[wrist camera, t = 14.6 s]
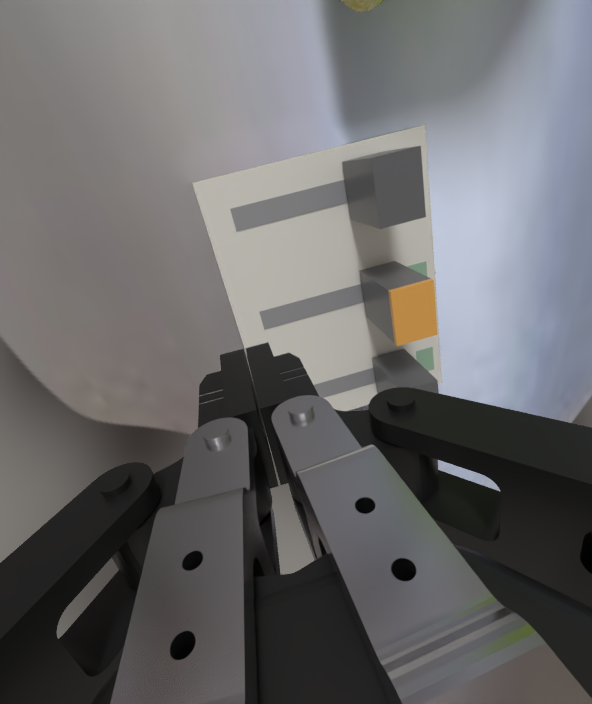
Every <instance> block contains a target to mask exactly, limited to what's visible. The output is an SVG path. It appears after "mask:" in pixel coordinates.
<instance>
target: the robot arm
mask: <svg viewBox="0 0 592 704" xmlns="http://www.w3.org/2000/svg"><path fill="white" fill-rule="evenodd" d="M245 349H246V353H247V357H248V362H249V366H250V370H251V374H252V377H251V374H250V370H249V366H248V363H247V359H246V356H245V352H244V349H241V350H237V351H233V352H229V353H226V354H222V355H220V361H221V371H219V372H215V373H212V374H208V375H206V377H205V378H204V379H203V381H202V382H201V384H200V388H199V395H200V397H199V419H198V429H197V430H195V431H194V432H193V433H192V434H191V436H190V437H189V439H188V440H187V443H186V448H185V453H184V457H183V458H182V459H180V460H179V461H177V462H175V463H174V464H172V465H170V466H168V467H167V468H164V469H162V470H160V471H158V472H156V473H155V474H153V472H152V470H151V468H150V467H149V466H148V465H146V464H144V463H139V462H137V463H136V462H134V463H127V464H124V465H121V466H118V467H115V468H113V469H111V470H109V471H107V472H106V473H104V474H103V475H101V476H100V477H98V478H97V479H96V480H95V481H94V482H92V483H91V484H90V485H89V486H88V487H87V488H86V489H84V490H83V491H82V492H81V493H80V494H79V495H78V496H76V497H75V498H74V499H73V500H72V501H71V502H70V503H68V504H67V505H66V506H65V507H64V508H63V509H62V510H60V511H59V512H58V513H57V514H56V515H55V516H54V517H52V518H51V519H50V520H49V521H48V522H47V523H46V524H44V525H43V526H42V527H41V528H40V529H39V530H38V531H37V532H36V533H34V534H33V535H32V536H31V537H30V538H29V539H27V540H26V541H25V542H24V543H23V544H22V545H21V546H19V547H18V548H17V549H16V550H15V551H14V552H13V553H11V554H10V555H9V556H8V557H7V558H6V559H5V560H3V561H2V562H1V563H0V704H592V428H590V427H585V426H581V425H577V424H572V423H568V422H563V421H559V420H554V419H550V418H545V417H541V416H536V415H532V414H528V413H523V412H519V411H514V410H510V409H505V408H501V407H496V406H492V405H487V404H483V403H478V402H474V401H469V400H465V399H460V398H456V397H451V396H447V395H442V394H438V393H434V392H429V391H425V390H420V389H416V388H410V387H397V388H391V389H387V390H384V391H382V392H379V393H378V394H376V395H375V396H374V397H373V398H372V399H371V400H370V402H369V410H365V411H340V410H335V409H334V408H333V407H332V406H331V404H330V403H329V402H328V401H327V400H326V399H324V398H322V397H319V395H318V393H317V391H316V389H315V387H314V385H313V383H312V381H311V379H310V377H309V376H308V374H307V372H306V370H305V368H304V366H303V364H302V362H301V360H300V358H299V357H297V356H295V355H293V354H291V353H286V354H282V355H278V356H275V357H274V356H273V353H272V351H271V348H270V345H269V343H268V342H267V343H263V344H259V345H256V346H252V347H248V348H245ZM252 379H253V381H252ZM253 383H254V384H253ZM254 387H255V388H254ZM265 430H266V431H265ZM266 434H267V436H266ZM267 437H268V440H267ZM268 441H269V444H270V448H271V451H272V455H273V458H274V462H275V466H276V469H277V473H278V476H279V480H280V483H281V485H282V484H286V483H289V487H290V491H291V494H292V498H293V501H294V505H295V509H296V512H297V515H298V517H299V520H300V523H301V525H302V528H303V530H304V533H305V536H306V538H307V541H308V544H309V546H310V549H311V551H312V554H313V557H314V560H315V561H314V562H312V563H310V564H309V565H307V566H306V567H304V568H302V569H301V570H299V571H297V572H295V573H292V574H286V575H280V565H279V556H278V547H277V537H276V529H275V519H274V513H273V509H272V496H271V491H270V488H273V487H276V486H278V482H277V478H276V474H275V470H274V465H273V461H272V457H271V453H270V448H269V444H268ZM438 460H441V461H444V462H447V463H450V464H453V465H456V466H459V467H462V468H465V469H468V470H471V471H474V472H477V473H480V474H482V475H485V476H487V477H488V478H490V479H491V480H492V481H494V482H495V483H496V484H497V486H498V487H499V489H500V491H501V492H500V491H497V490H494V489H491V488H488V487H485V486H482V485H480V484H477V483H474V482H471V481H468V480H465V479H463V478H460V477H457V476H454V475H451V474H448V473H445V472H443V471H440V470H438ZM111 557H112V558H113V560H114V562H115V563H116V565H117V567H118V569H119V571H118V572H117V573H116V574H115V575H114V577H113V578H112V579H111V580H110V581H109V582H108V584H107V585H106V586H105V587H104V588H103V589H102V591H101V592H100V593H99V594H98V595H97V596H96V598H95V599H94V600H93V601H92V602H91V603H90V604H89V606H88V607H87V608H86V609H85V610H84V612H83V613H82V614H81V615H80V616H79V617H78V618H77V620H76V621H75V622H74V623H73V624H72V625H71V627H70V628H69V629H68V630H67V631H66V632H65V633H64V634H63V636H62V637H60V638H59V639H58V638H57V634H56V631H57V625H58V622H59V619H60V617H61V615H62V613H63V612H64V610H65V609H66V607H67V606H68V605H69V604H70V603H71V602H72V600H73V599H74V598H75V597H76V596H77V595H78V594H79V593H80V592H81V591H82V589H83V588H84V587H85V586H86V585H87V584H88V583H89V582H90V580H91V579H92V578H93V577H94V576H95V575H96V574H97V573H98V572H99V571H100V570H101V568H102V567H103V566H104V565H105V564H106V563H107V562H108V561H109V559H110V558H111Z"/></svg>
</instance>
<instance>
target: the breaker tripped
mask: <svg viewBox="0 0 592 704" xmlns="http://www.w3.org/2000/svg"><path fill="white" fill-rule="evenodd" d="M359 272H360V279H361V285H362V292H363V298H364V305H365V311H366V317H367V318H368V319H370V320H371V321H372V322H373V323H374V324H375V325H376V326H377V327H378V328H379V329H380V330H381V331H382V332H383V333H384V334H385V335H386V336H387V337H388V338H389V339H390V340H391V341H392V342H393V343H394V344H395V345H396V346H400V345H403V344H407V343H410V342H414V341H417V340H421V339H424V338H428V337H431V336H435V335H438V333H437V318H436V303H435V288H434V280H433V279H431V278H429V277H427V276H425V275H423V274H421V273H419V272H416V271H414V270H412V269H410V268H408V267H406V266H404V265H402V264H400V263H398V262H396V261H393V262H389V263H385V264H382V265H378V266H374V267H371V268H367V269H363V270H360V271H359Z"/></svg>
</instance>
